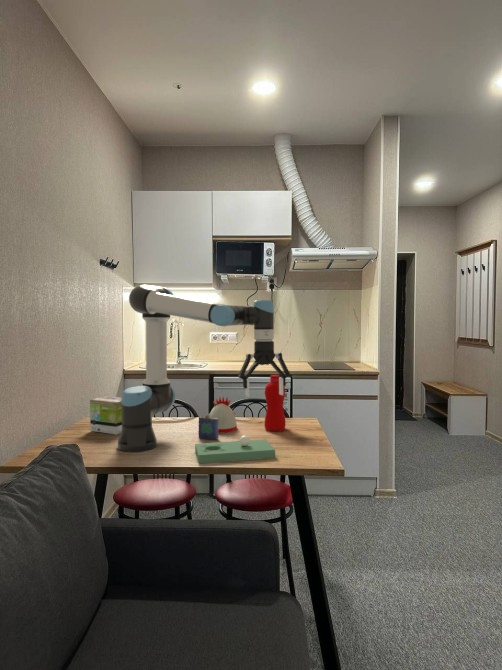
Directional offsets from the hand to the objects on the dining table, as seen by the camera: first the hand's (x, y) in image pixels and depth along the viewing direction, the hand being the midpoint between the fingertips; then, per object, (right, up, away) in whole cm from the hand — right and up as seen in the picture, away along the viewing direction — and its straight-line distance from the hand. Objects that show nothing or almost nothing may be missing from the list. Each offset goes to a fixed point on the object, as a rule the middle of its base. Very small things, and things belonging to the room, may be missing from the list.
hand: (264, 395), depth 170 cm
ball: (-8, -17, -3) cm, 18 cm away
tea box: (-69, -21, +32) cm, 79 cm away
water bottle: (+6, -20, +34) cm, 40 cm away
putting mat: (-11, -22, -4) cm, 25 cm away
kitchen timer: (-19, -20, +34) cm, 44 cm away
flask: (-23, -21, +18) cm, 36 cm away
